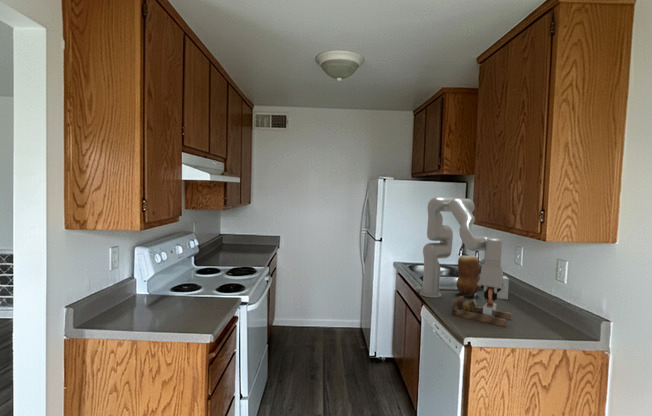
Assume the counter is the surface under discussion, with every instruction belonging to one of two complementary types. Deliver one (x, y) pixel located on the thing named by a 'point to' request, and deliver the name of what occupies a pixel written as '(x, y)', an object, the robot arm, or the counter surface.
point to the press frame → (479, 317)
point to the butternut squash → (468, 275)
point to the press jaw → (489, 303)
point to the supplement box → (504, 293)
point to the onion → (469, 306)
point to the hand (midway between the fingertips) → (490, 299)
